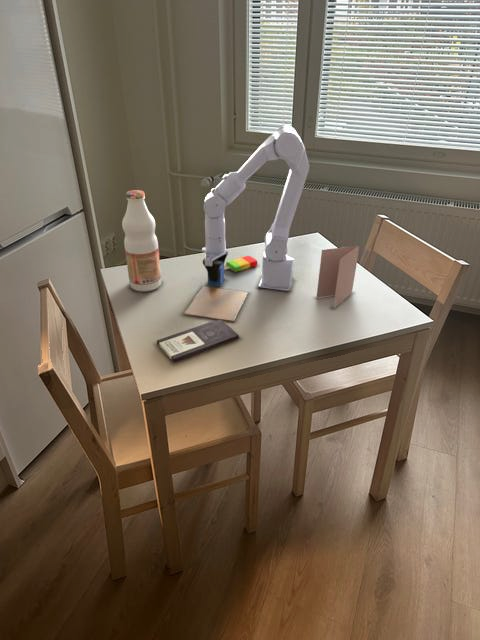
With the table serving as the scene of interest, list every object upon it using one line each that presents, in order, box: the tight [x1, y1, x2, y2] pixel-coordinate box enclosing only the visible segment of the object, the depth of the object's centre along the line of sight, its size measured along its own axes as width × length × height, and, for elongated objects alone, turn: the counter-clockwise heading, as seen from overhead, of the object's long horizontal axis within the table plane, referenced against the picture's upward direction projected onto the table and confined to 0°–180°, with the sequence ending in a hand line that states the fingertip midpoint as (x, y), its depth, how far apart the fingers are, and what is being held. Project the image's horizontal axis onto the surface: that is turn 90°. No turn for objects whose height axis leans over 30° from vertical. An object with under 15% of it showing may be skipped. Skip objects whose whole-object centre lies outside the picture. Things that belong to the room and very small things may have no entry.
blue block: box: [207, 262, 225, 287], centre depth 137 cm, size 4×4×6 cm
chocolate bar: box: [156, 319, 240, 363], centre depth 112 cm, size 9×1×18 cm
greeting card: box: [316, 244, 360, 309], centre depth 126 cm, size 11×7×15 cm, turn 107°
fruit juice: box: [121, 189, 162, 292], centre depth 130 cm, size 9×9×28 cm
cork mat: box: [183, 286, 249, 322], centre depth 128 cm, size 14×16×1 cm
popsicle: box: [224, 255, 258, 273], centre depth 147 cm, size 6×15×2 cm, turn 124°
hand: (216, 277), depth 138 cm, fingers closed on blue block, 4 cm apart
